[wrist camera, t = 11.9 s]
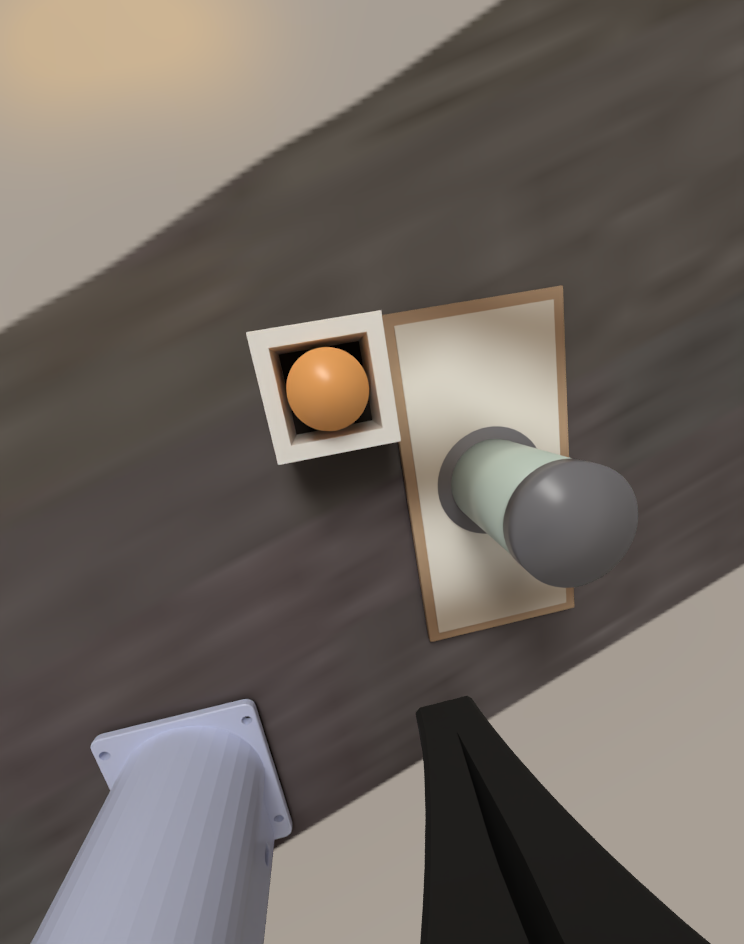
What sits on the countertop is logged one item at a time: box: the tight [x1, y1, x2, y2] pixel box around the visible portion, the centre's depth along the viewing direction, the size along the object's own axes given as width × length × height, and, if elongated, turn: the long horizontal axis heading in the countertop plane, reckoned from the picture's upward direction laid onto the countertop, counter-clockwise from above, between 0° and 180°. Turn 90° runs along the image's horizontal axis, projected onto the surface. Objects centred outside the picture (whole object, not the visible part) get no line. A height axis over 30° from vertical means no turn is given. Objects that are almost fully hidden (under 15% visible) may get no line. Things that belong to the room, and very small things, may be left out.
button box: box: [246, 310, 401, 465], centre depth 14 cm, size 5×5×3 cm
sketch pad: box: [382, 285, 574, 642], centre depth 18 cm, size 16×8×1 cm, turn 10°
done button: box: [286, 347, 369, 431], centre depth 14 cm, size 3×3×3 cm
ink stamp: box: [451, 439, 638, 588], centre depth 14 cm, size 4×4×6 cm
